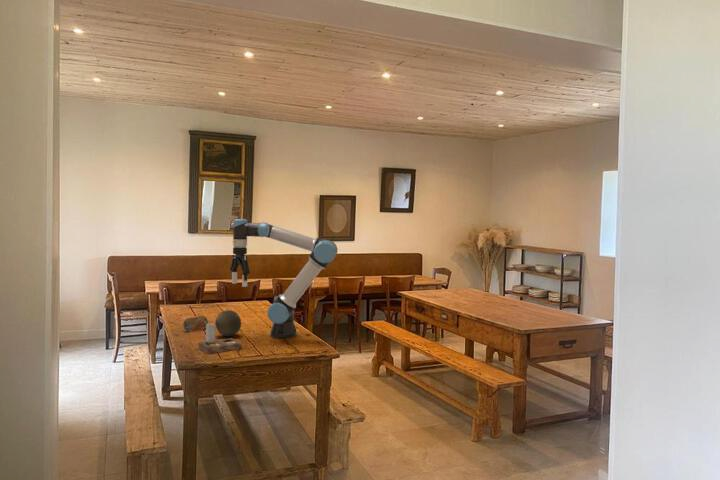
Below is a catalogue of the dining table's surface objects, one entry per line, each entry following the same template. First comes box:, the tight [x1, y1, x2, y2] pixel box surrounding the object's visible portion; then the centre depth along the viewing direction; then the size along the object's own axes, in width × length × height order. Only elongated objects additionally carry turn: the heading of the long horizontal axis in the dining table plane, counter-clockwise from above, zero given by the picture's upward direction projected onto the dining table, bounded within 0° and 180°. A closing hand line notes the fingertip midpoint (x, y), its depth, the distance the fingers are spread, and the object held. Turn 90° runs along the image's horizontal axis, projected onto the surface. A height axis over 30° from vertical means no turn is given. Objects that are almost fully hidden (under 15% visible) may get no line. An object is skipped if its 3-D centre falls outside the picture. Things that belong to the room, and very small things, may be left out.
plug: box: [205, 322, 216, 345], centre depth 270 cm, size 3×3×13 cm
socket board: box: [198, 337, 243, 355], centre depth 271 cm, size 18×13×3 cm
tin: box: [182, 315, 209, 333], centre depth 311 cm, size 15×3×8 cm, turn 137°
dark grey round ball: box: [214, 309, 242, 337], centre depth 297 cm, size 14×14×15 cm
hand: (239, 285), depth 289 cm, fingers open, 13 cm apart
